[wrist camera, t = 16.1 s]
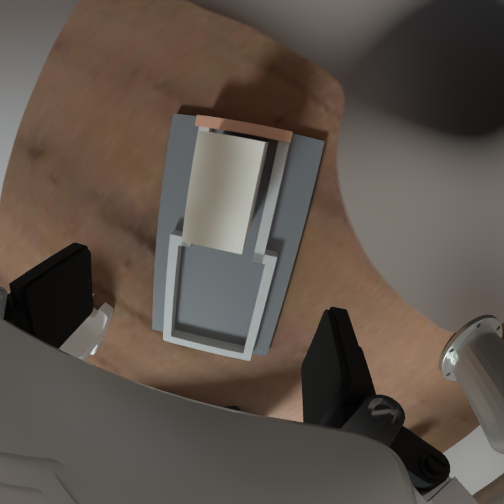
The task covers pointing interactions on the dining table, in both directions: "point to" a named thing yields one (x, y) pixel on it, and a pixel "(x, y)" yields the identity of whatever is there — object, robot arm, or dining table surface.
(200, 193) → the slider block
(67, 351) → the cable organizer
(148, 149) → the dining table surface
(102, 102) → the dining table surface
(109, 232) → the dining table surface
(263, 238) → the stepped grey tray
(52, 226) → the dining table surface
